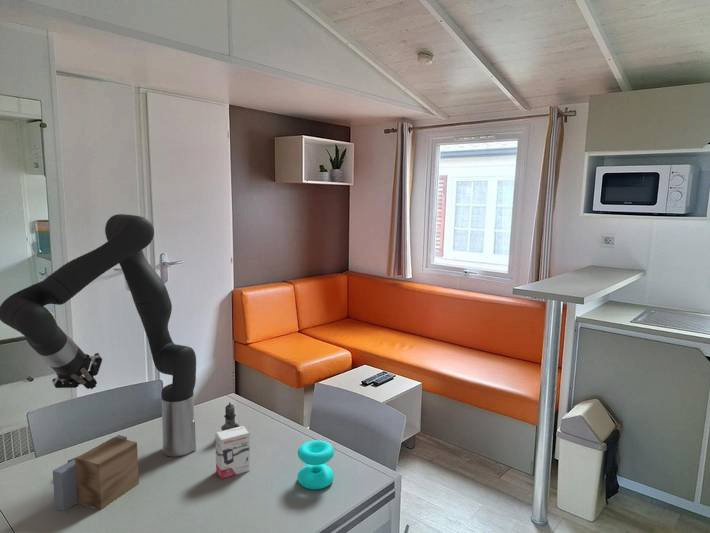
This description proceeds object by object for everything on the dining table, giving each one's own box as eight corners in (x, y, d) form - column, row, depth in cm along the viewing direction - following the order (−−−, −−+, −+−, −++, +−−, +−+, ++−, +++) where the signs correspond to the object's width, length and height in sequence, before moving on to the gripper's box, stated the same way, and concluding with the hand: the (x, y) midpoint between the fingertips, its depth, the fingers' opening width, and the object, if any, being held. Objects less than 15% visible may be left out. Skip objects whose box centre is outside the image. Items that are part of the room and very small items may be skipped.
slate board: (128, 470, 135) (126, 436, 134) (63, 511, 116) (61, 473, 115) (120, 467, 136) (118, 434, 135) (55, 508, 117) (52, 470, 116)
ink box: (221, 479, 131) (220, 439, 129) (215, 471, 135) (214, 432, 133) (250, 470, 135) (250, 431, 134) (244, 463, 139) (243, 425, 138)
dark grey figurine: (219, 434, 157) (219, 400, 155) (237, 431, 159) (237, 397, 158) (222, 442, 151) (222, 407, 150) (241, 439, 154) (240, 404, 152)
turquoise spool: (317, 434, 137) (341, 447, 130) (317, 467, 138) (341, 481, 131) (290, 446, 130) (314, 460, 123) (290, 481, 131) (314, 496, 124)
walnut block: (138, 484, 128) (136, 442, 127) (101, 510, 117) (99, 464, 116) (116, 478, 131) (114, 437, 129) (77, 502, 120) (75, 458, 118)
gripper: (82, 329, 123) (110, 362, 136) (29, 359, 117) (64, 391, 130) (92, 347, 119) (120, 380, 132) (38, 379, 113) (73, 410, 126)
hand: (92, 385), depth 131 cm, fingers closed
